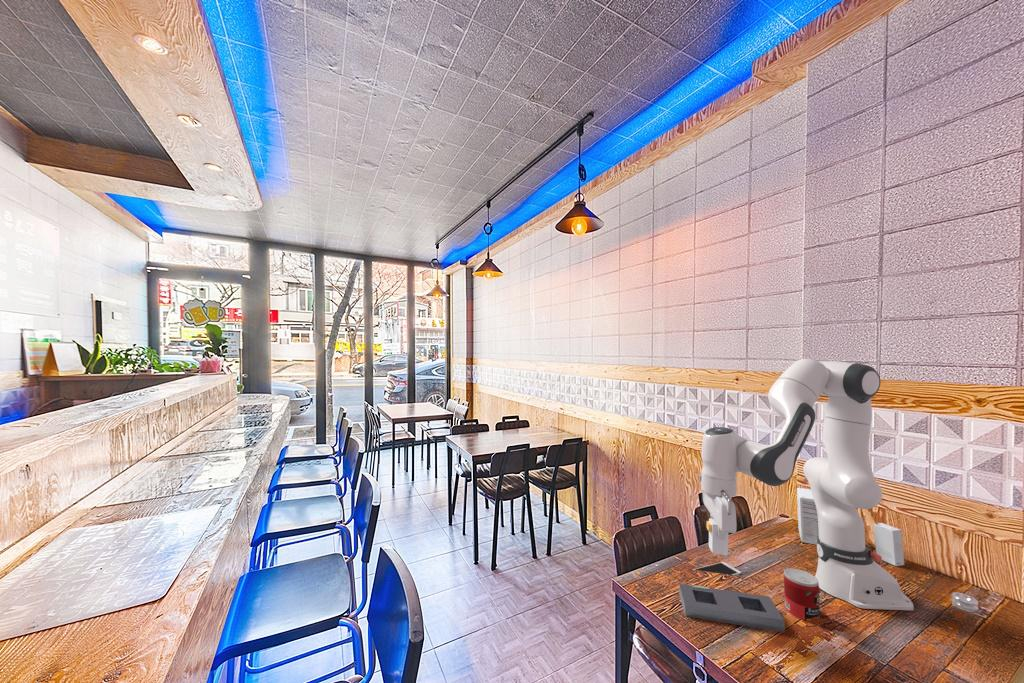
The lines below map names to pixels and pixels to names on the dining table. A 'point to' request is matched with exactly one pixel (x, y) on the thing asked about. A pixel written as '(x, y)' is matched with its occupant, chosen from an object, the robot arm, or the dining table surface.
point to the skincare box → (889, 544)
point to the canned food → (802, 595)
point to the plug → (716, 539)
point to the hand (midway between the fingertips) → (718, 534)
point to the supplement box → (807, 516)
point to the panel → (731, 607)
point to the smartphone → (720, 569)
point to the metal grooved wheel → (965, 602)
